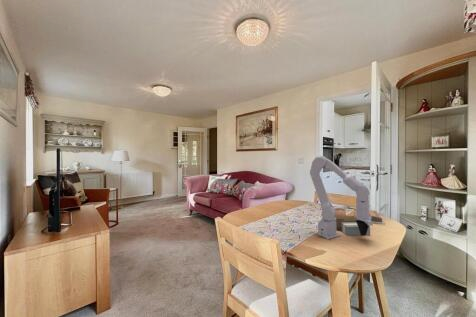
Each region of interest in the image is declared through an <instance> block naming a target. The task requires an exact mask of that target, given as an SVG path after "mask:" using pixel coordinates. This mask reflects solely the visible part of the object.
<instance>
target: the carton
mask: <svg viewBox="0 0 476 317" xmlns="http://www.w3.org/2000/svg"><path fill="white" fill-rule="evenodd" d="M341 231H342V233H343V234H345V235H346V236H348V237H351V236H353V237H356V236H357V237H359V236H361V237H363V236H371V227H370V226H369V227H368V230H367V233H366V235H363V236H362V235H361V234H360V231H359V227H358V225H357V223H356V222H341V230H340V232H341Z"/></svg>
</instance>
